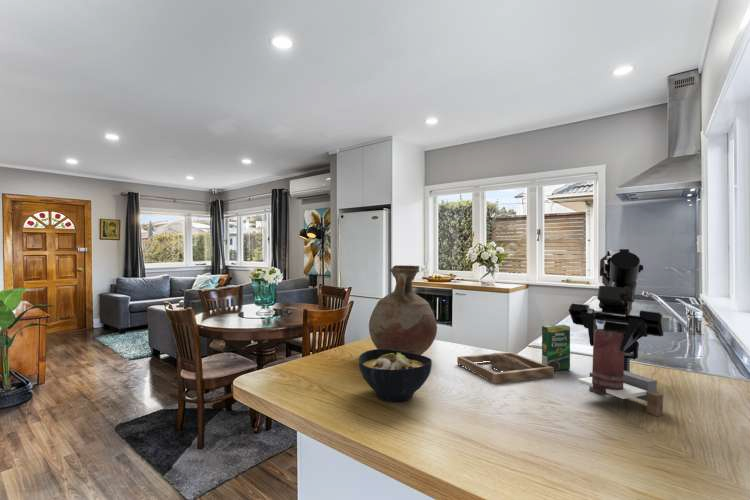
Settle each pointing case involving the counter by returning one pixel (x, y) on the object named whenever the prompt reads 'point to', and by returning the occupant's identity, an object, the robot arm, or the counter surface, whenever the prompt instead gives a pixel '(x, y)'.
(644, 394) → the trapdoor
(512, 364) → the oyster shell
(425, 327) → the jug
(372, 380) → the bowl
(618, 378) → the can
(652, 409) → the frame
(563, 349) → the coffee box
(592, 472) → the counter surface
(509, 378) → the wooden tray
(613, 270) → the robot arm
